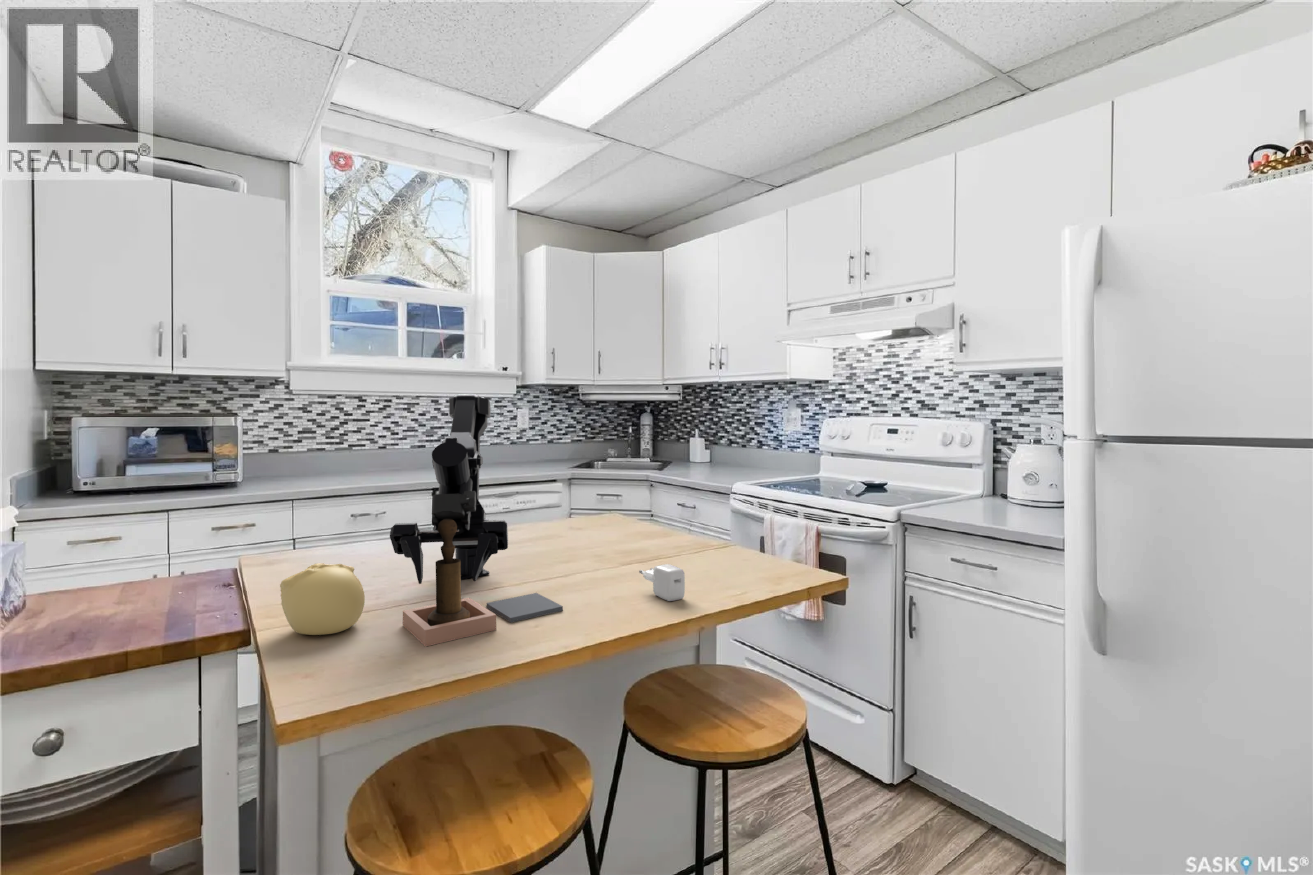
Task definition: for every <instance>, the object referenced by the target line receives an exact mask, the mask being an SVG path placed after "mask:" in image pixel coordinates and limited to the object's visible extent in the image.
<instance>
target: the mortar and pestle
mask: <svg viewBox="0 0 1313 875" xmlns="http://www.w3.org/2000/svg"><path fill="white" fill-rule="evenodd" d="M456 531H457V524H456V522H455V521H454V520H452V519H443V520H442V521H440V522H439V524H438V532H439V534H440V536H441V537H442V539H443V542H442V546H441V545H440V552H441V555H442V558H441V559H439V560H436V561H435V604H436V609H434V610H433V611H432V612H431V613H430V614H429V615H428V623H427V624H428V625H429V626H435V625H439V624H444V623H448V622H453V621H458V620H462V619H467V618H470V612H469V611H468V610H466V609H465V608H464V607H462V606H461V599H462V591H461V590H462V588H461V587H462V583H461V581H462V579H461V561H460V559H456V557H455V558H454V556H455V546H454V545H453V543H452V539H453V537H454V535H455V533H456Z"/></svg>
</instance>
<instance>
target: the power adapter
mask: <svg viewBox="0 0 1313 875" xmlns="http://www.w3.org/2000/svg"><path fill="white" fill-rule="evenodd" d="M638 571H639V572H638V573H639V574H642V575H643V578H644V579H645V580H646V581H649V582H651V583H652V586H653V587H652V588H653V590H652V591H653V594H654V595H655V597H658V598H660V599H662V600H665V601H667V602H672V601H678V600H682V599H684V597H685V591H686V590H685V587H686V584H685V583H686V582H685V579H686V578H685V576H686V575H685V571H684V569H682V568H680V567H677V566H675V565H672V564H670V563H666V564H660V565H655V566H654V567H651V568H649V569H647V570H643V569H640V570H638Z"/></svg>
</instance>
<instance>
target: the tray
mask: <svg viewBox="0 0 1313 875" xmlns="http://www.w3.org/2000/svg"><path fill="white" fill-rule="evenodd" d="M461 606H462V607H464V608H465V609H466V610H468V611H469V612H470V618H467V619H462V620H458V621H453V622H448V623H444V624H439V625H435V626H429V625H428V615H429V614H430V613H431V612H432V611H433V610H434V609H436V603H435V604H430V605H424V606H419V607H415V608H409V609H404V610H402V627H404V628H405V629H406V630H407V631H408V632H409V633H410V634H412V635H413V637H415V638H416V639H417V641H419V642H420V643H421V644H423V646H425V647H429V646H432V645H433V646H434V645H438V644H442V643H445V642H450V641H454V640H460V639H462V638H467V637H471V636H475V635H476V636H477V635H480V634H481V635H482V634H484V633H489V632H494V631H497V614H496V613H495V612H493V611H491V610H490V609H488V608H487V607H485V606H484V605H483V604H480V603H479V602H477V601H475V600H474V599H472V598H471V597H465V598H461Z"/></svg>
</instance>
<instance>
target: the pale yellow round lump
mask: <svg viewBox="0 0 1313 875" xmlns="http://www.w3.org/2000/svg"><path fill="white" fill-rule="evenodd" d="M354 572H355V567H354V566H350V565H347V564H342V563H336V564H335V563H334V564H330V563H329V564H326V563H325V562H324V563H320V562H319V563H318V562H317V563H314V564H311V565H309V566H307V568H306V569H304V570H302V571H299V572H298V573H295V574H293V575H291V576H289V577H287V578H285V579H283V580H282V581H281V582H280V584H279V588H280V592H281V593H280V600H281V603H280V604H281V606H282V610H283V614H284V615H285V618H286V621H287V623H288V625H289V626H290V628H291V629H292V630H293V631H294V632H295V633H297V634H300V635H309V636H318V635H319V636H321V635H331V634H337V633H340V632H343V631H346V630H347V629H349V628H351V627H352V626H354V625H355V624H356V623H357V622H358V621H359V619H360V618H361V616H362V613H363V611H364V609H365V600H366V599H365V598H366V596H365V591H364V587H363V585H362V583H361V581H360V579H359V578H358V577H357V575H355V573H354Z"/></svg>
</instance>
